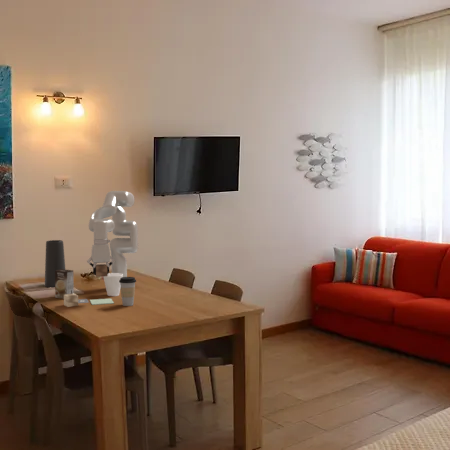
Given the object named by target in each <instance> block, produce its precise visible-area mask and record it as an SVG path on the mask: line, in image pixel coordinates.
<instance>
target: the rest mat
mask: <svg viewBox="0 0 450 450" xmlns="http://www.w3.org/2000/svg"><path fill="white" fill-rule="evenodd" d="M89 303H90V304H91V305H92V306H98V305H99V306H100V305H112V304H115V301H113V298H98V299H89Z"/></svg>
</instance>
